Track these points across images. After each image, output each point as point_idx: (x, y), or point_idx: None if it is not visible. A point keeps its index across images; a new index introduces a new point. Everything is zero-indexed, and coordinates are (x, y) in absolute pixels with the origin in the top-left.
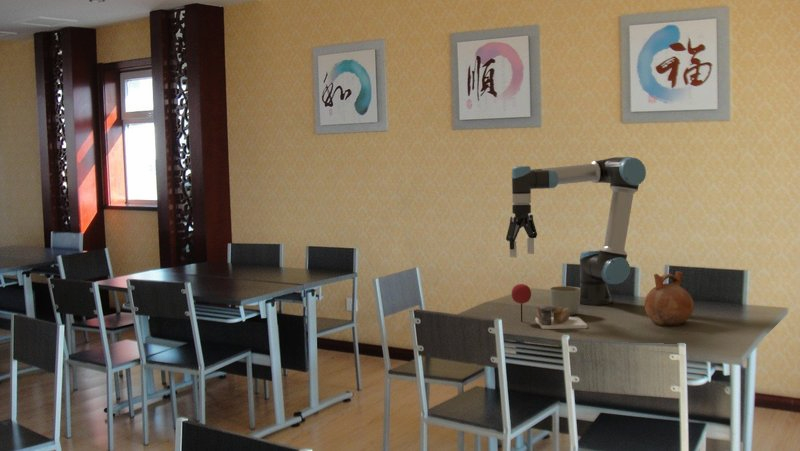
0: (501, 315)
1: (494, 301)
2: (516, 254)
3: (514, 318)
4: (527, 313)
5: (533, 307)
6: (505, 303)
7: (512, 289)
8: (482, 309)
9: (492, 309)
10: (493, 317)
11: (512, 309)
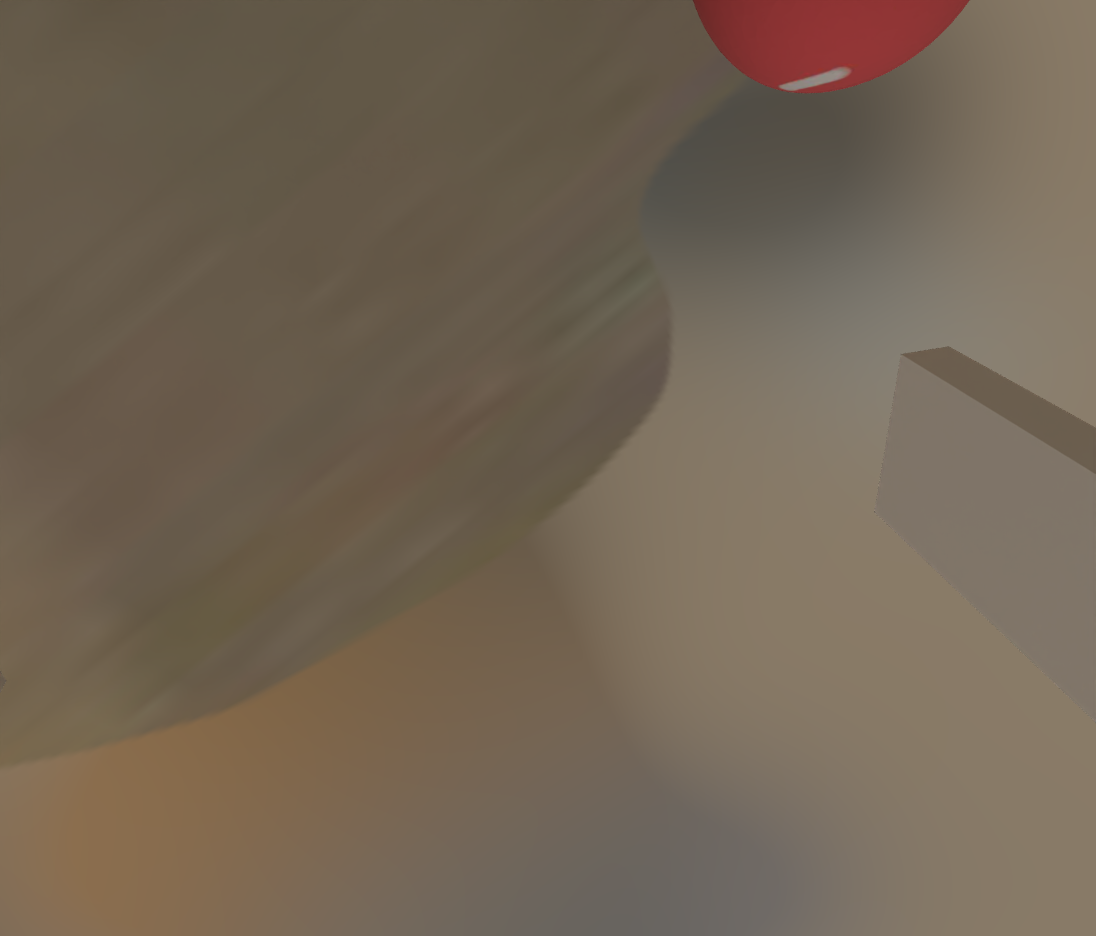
0: (556, 311)
1: (131, 731)
2: (958, 385)
3: (595, 126)
4: (308, 188)
5: (13, 349)
6: (113, 633)
7: (934, 39)
8: (458, 575)
9: (402, 529)
10: (667, 304)
11: (270, 422)
